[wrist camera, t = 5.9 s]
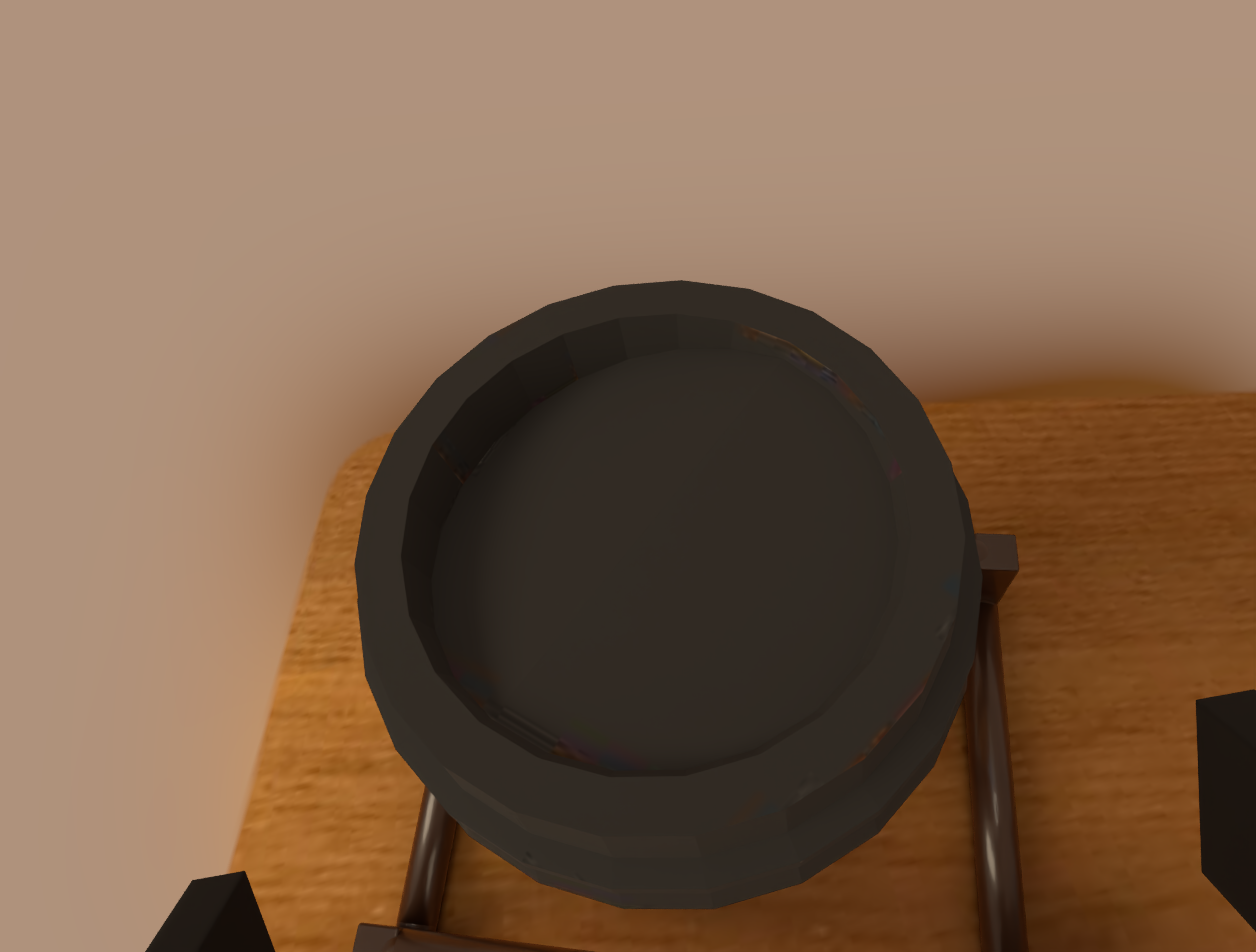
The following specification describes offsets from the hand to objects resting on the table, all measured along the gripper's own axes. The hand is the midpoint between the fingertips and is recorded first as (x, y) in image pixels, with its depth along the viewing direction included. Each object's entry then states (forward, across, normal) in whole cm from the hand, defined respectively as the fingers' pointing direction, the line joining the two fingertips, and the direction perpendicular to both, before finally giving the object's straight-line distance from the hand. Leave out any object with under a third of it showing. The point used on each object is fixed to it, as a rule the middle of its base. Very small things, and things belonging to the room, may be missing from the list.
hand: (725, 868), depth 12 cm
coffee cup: (+11, 0, -5) cm, 12 cm away
